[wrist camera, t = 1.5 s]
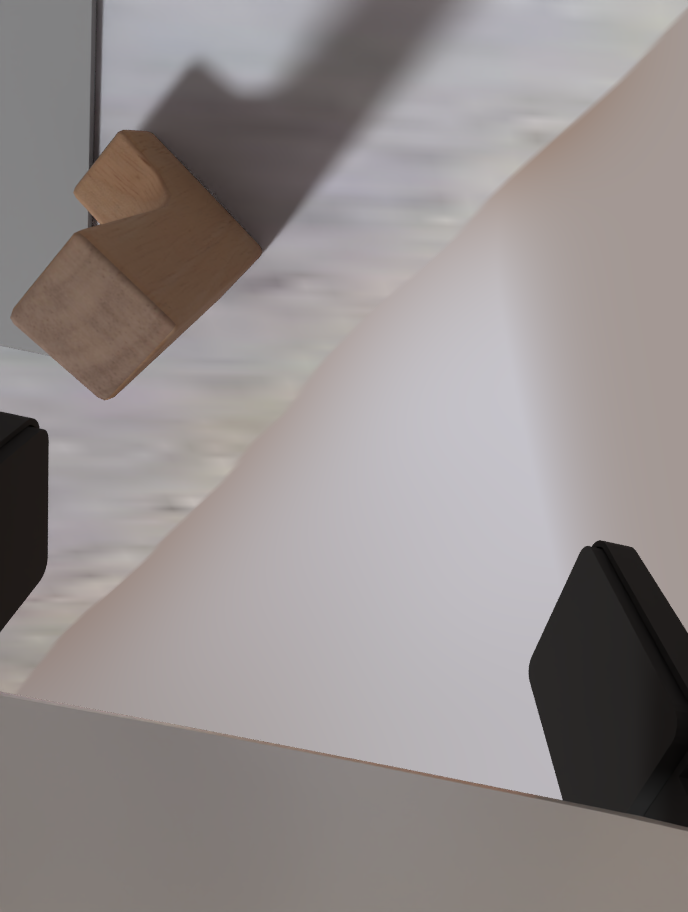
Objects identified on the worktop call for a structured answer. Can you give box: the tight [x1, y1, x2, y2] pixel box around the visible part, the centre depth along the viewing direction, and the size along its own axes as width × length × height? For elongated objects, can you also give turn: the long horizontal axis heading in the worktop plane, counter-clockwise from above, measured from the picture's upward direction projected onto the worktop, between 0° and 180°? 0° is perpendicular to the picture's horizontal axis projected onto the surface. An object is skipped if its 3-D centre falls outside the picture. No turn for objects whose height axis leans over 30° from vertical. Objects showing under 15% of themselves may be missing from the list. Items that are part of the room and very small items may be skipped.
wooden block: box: [10, 130, 262, 400], centre depth 30 cm, size 9×4×18 cm, turn 44°
